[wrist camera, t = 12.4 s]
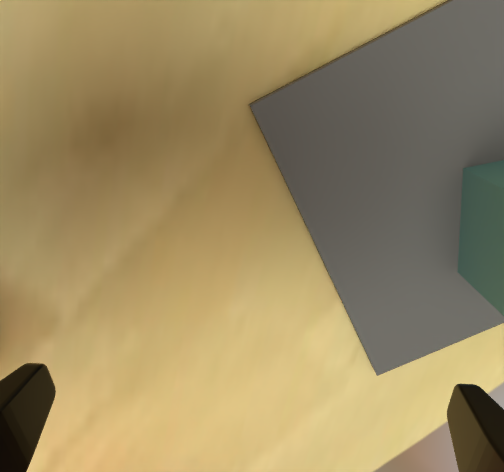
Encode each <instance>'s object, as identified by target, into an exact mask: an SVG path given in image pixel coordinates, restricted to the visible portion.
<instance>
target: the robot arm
mask: <svg viewBox="0 0 504 472" xmlns="http://www.w3.org/2000/svg"><path fill="white" fill-rule="evenodd" d="M55 392H56V391H55V385H54V383H53V380H52V378H51V375H50V373H49V370H48V368H47V366H46V365H44V364H40V363H27V364H24V365H23V366H21V367H20V368H18V369H17V370H15V371H14V372H12V373H11V374H10V375H8V376H7V377H5V378H4V379H2V380H1V381H0V472H26V471H27V469H28V467H29V464H30V462H31V459H32V457H33V455H34V452H35V449H36V447H37V444H38V441H39V438H40V436H41V433H42V430H43V428H44V425H45V422H46V420H47V417H48V414H49V412H50V409H51V406H52V404H53V401H54V398H55ZM447 419H448V424H449V429H450V433H451V438H452V442H453V447H454V452H455V456H456V461H457V465H458V469H459V472H504V410H503V408H502V407H500V406H499V405H498V404H497V403H496V402H495V401H494V400H493V399H492V398H491V397H490V396H489V395H488V394H487V393H486V392H485V391H484V390H483V389H481V388H480V387H479V386H477V385H473V384H457V385H456V386H455V387H454V390H453V393H452V396H451V399H450V402H449V406H448V409H447Z"/></svg>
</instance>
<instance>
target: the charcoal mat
mask: <svg viewBox="0 0 504 472" xmlns="http://www.w3.org/2000/svg"><path fill="white" fill-rule="evenodd" d="M249 105H250V107H251V109H252V112H253V114H254V116H255V118H256V120H257V122H258V124H259V126H260V129H261V131H262V133H263V135H264V137H265V139H266V141H267V143H268V146H269V148H270V150H271V152H272V154H273V156H274V158H275V160H276V163H277V165H278V167H279V169H280V171H281V173H282V175H283V177H284V180H285V182H286V184H287V186H288V188H289V190H290V192H291V194H292V196H293V199H294V201H295V203H296V205H297V207H298V209H299V211H300V213H301V216H302V218H303V220H304V222H305V224H306V226H307V228H308V230H309V233H310V235H311V237H312V239H313V241H314V243H315V245H316V247H317V250H318V252H319V254H320V256H321V258H322V260H323V262H324V264H325V267H326V269H327V271H328V273H329V275H330V277H331V279H332V281H333V283H334V286H335V288H336V290H337V292H338V294H339V296H340V298H341V300H342V303H343V305H344V307H345V309H346V311H347V313H348V315H349V317H350V320H351V322H352V324H353V326H354V328H355V330H356V332H357V334H358V337H359V339H360V341H361V343H362V345H363V347H364V349H365V351H366V354H367V356H368V358H369V360H370V362H371V364H372V366H373V368H374V370H375V372H376V375H377V376H378V375H380V374H383V373H385V372H387V371H390V370H392V369H395V368H397V367H399V366H402V365H404V364H407V363H409V362H411V361H414V360H416V359H418V358H421V357H423V356H426V355H428V354H430V353H433V352H435V351H438V350H440V349H442V348H445V347H447V346H449V345H452V344H454V343H457V342H459V341H461V340H464V339H466V338H469V337H471V336H473V335H476V334H478V333H481V332H483V331H485V330H488V329H490V328H492V327H495V326H497V325H500V324H502V323H504V316H503V315H502V314H501V313H500V312H499V311H498V310H497V309H496V308H495V307H494V306H492V305H491V304H490V303H489V302H488V301H487V300H486V299H485V298H484V297H483V296H482V295H481V294H480V293H479V292H478V291H477V290H476V289H475V288H474V287H472V286H471V285H470V284H469V283H468V282H467V281H466V280H465V279H464V278H463V277H462V276H461V275H460V274H459V273H458V272H457V271H458V253H459V235H460V217H461V199H462V181H463V168H467V167H472V166H477V165H482V164H487V163H492V162H497V161H501V160H504V0H448V1H446V2H445V3H443V4H441V5H439V6H437V7H435V8H433V9H431V10H429V11H427V12H425V13H423V14H421V15H420V16H418V17H416V18H414V19H412V20H410V21H408V22H406V23H404V24H402V25H400V26H398V27H397V28H395V29H393V30H391V31H389V32H387V33H385V34H383V35H381V36H379V37H377V38H375V39H374V40H372V41H370V42H368V43H366V44H364V45H362V46H360V47H358V48H356V49H354V50H352V51H350V52H349V53H347V54H345V55H343V56H341V57H339V58H337V59H335V60H333V61H331V62H329V63H327V64H326V65H324V66H322V67H320V68H318V69H316V70H314V71H312V72H310V73H308V74H306V75H304V76H303V77H301V78H299V79H297V80H295V81H293V82H291V83H289V84H287V85H285V86H283V87H281V88H279V89H278V90H276V91H274V92H272V93H270V94H268V95H266V96H264V97H262V98H260V99H258V100H256V101H255V102H253V103H251V104H249Z"/></svg>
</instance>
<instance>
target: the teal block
mask: <svg viewBox="0 0 504 472" xmlns="http://www.w3.org/2000/svg"><path fill="white" fill-rule="evenodd" d="M457 272H458V273H459V274H460V275H461V276H462V277H463V278H464V279H465V280H466V281H467V282H468V283H469V284H470V285H471V286H472V287H474V288H475V289H476V290H477V291H478V292H479V293H480V294H481V295H482V296H483V297H484V298H485V299H486V300H487V301H488V302H489V303H490V304H491V305H492V306H494V307H495V308H496V309H497V310H498V311H499V312H500V313H501V314H502V315H503V316H504V160H501V161H497V162H492V163H487V164H482V165H477V166H472V167H467V168H463V181H462V199H461V217H460V235H459V253H458V271H457Z"/></svg>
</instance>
